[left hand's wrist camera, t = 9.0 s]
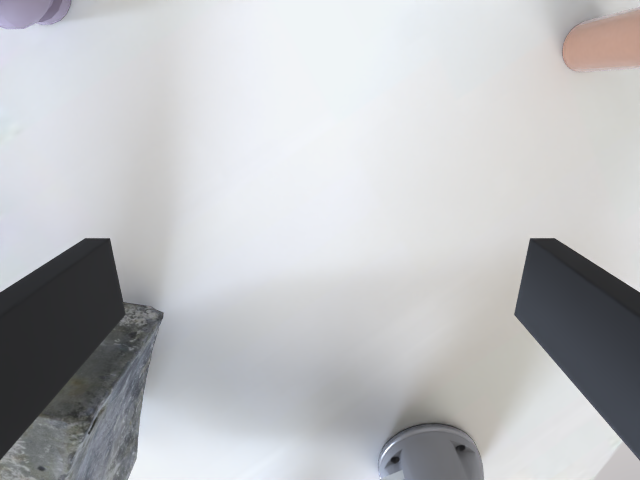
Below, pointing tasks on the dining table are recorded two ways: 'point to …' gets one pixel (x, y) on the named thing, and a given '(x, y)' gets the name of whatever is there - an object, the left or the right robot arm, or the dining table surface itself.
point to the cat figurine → (31, 12)
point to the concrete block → (92, 411)
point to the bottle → (604, 43)
